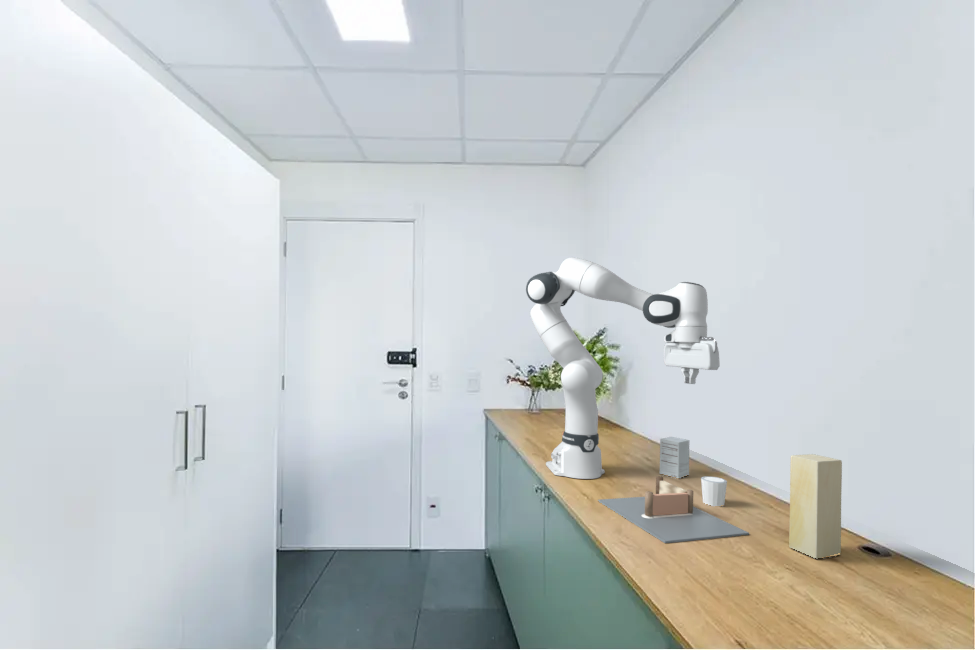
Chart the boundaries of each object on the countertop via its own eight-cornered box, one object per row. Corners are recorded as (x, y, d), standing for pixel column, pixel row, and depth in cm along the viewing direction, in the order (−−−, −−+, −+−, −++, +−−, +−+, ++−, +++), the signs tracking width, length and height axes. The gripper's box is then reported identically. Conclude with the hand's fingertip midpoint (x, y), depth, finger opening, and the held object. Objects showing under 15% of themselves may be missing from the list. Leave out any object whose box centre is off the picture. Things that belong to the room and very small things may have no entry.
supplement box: (670, 471, 180) (670, 436, 181) (689, 476, 175) (690, 439, 175) (658, 474, 176) (659, 438, 176) (678, 479, 170) (679, 441, 170)
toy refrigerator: (809, 542, 118) (811, 452, 118) (841, 555, 111) (843, 460, 111) (785, 546, 115) (787, 454, 115) (816, 560, 108) (818, 462, 108)
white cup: (699, 504, 143) (700, 479, 144) (701, 498, 149) (702, 474, 150) (726, 509, 140) (726, 483, 140) (727, 502, 146) (727, 478, 146)
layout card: (597, 501, 143) (598, 499, 143) (669, 496, 150) (669, 494, 150) (664, 543, 114) (665, 540, 114) (749, 534, 121) (749, 532, 121)
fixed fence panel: (654, 497, 147) (654, 476, 147) (659, 496, 148) (660, 476, 148) (683, 511, 135) (684, 489, 135) (689, 511, 135) (690, 489, 136)
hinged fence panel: (689, 510, 135) (690, 489, 135) (694, 513, 133) (695, 491, 133) (643, 513, 131) (643, 491, 132) (647, 516, 129) (648, 493, 130)
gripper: (725, 337, 139) (724, 387, 139) (677, 337, 159) (676, 380, 158) (707, 336, 137) (706, 387, 137) (660, 336, 157) (659, 380, 156)
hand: (689, 383), depth 148 cm, fingers closed
